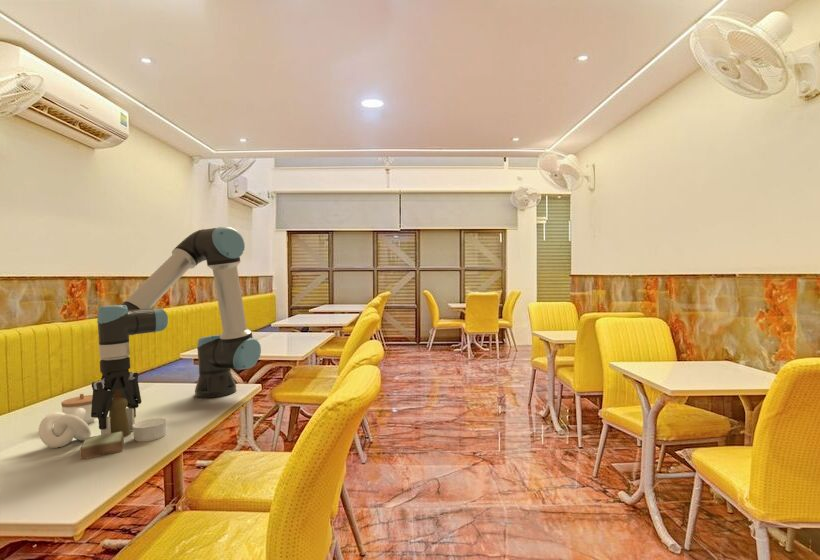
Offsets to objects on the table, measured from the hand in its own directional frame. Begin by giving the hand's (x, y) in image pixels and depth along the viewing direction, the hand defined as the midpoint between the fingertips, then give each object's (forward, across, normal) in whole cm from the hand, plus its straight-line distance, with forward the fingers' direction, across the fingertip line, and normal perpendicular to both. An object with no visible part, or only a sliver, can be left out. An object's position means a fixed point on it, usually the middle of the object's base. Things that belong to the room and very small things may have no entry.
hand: (118, 434), depth 135 cm
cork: (+1, 0, 0) cm, 1 cm away
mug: (+1, -35, -37) cm, 51 cm away
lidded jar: (+1, -8, -24) cm, 25 cm away
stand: (0, +10, +6) cm, 12 cm away
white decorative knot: (+1, +7, -9) cm, 12 cm away
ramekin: (+1, 0, +11) cm, 11 cm away
